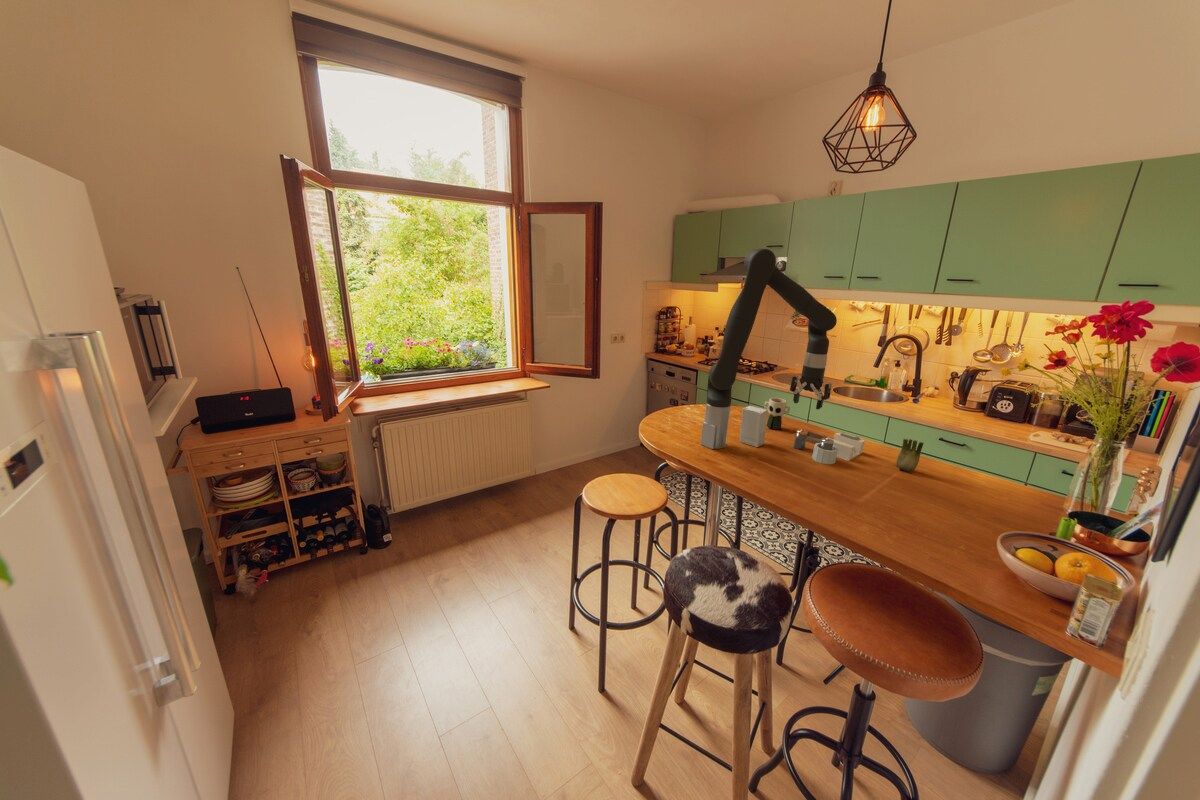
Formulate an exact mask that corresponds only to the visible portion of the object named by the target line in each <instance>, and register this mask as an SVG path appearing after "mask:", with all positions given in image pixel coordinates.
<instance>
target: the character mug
mask: <svg viewBox="0 0 1200 800" xmlns="http://www.w3.org/2000/svg"><path fill="white" fill-rule="evenodd" d="M787 402H788V401H787V400H786V399H783V398H781V397H780V398H779V397H770V398H769V400H768V401H764V406H763V409H766V410H768V412H767V414H769V415H768V417H767V422H766V428H768V429H771V427H772V429H773V430H780V429H781V428H782V424H783V423H782V422H783V421H782V419H783V418H782V416H784V415H785V414H790V410H791V406H788V405H787ZM767 405H768V406H767Z"/></svg>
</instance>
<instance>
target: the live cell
mask: <svg viewBox="0 0 1200 800" xmlns="http://www.w3.org/2000/svg"><path fill="white" fill-rule="evenodd" d="M806 430H807V429H802V428H799V429H797V428H796V432H795V438H794V442H793V443H794V444H793V448H794V449H795V450H799V451H804V450H805V448H806V444H807V441H806V439H807V434H808V431H809V430H807V431H806Z"/></svg>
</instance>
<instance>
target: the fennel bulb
mask: <svg viewBox="0 0 1200 800" xmlns="http://www.w3.org/2000/svg"><path fill="white" fill-rule="evenodd" d="M917 444H918V445H917ZM924 444H925V443H924V441H919V442H918V440H917V439H912V438H903V441H902V447H901V449H900V451H899V453H898V456H897V457H896V462H895V463H896V464H895V465H896V467H897V468H898V469H899V470H900V471H904V472H908V473H909V472H914V471H915V470H916V468H917V467H918V465H919V462H920V457H921V454H922V449H923V446H924Z"/></svg>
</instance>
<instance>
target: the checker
mask: <svg viewBox="0 0 1200 800" xmlns="http://www.w3.org/2000/svg"><path fill="white" fill-rule="evenodd" d="M831 438H832V437H829V439H831ZM832 440H833V441H834V443H833V445H834V446H835V447H837V448H838V452H837V457H836V458H838V459H841V460H845V461H847V462H848V461H851V460H852V459H855V458H857V457H858V456H859V455H861V454H862V453H863V450H864V445H865V440H864V439H860V436H857V435H853V434H850V433H848V432H844V431H842V432H836V433H834V435H833V438H832Z"/></svg>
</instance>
